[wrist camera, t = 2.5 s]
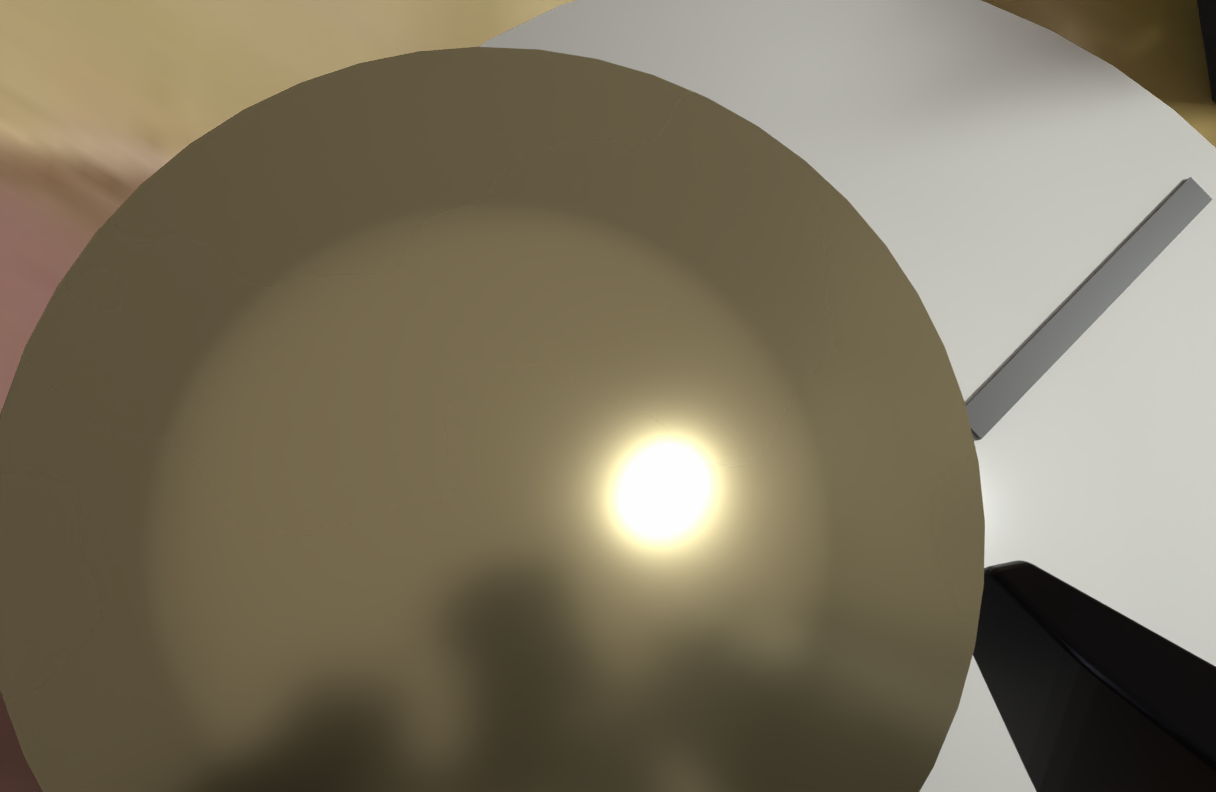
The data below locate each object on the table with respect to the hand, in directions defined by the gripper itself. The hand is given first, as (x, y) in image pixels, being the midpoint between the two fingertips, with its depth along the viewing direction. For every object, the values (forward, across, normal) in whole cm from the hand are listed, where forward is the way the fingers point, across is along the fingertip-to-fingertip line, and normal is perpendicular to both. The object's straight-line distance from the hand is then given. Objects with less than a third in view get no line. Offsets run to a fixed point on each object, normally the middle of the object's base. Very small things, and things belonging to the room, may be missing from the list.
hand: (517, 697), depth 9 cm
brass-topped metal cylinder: (+6, 0, +4) cm, 8 cm away
